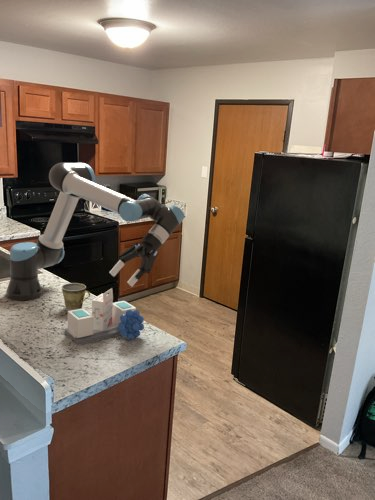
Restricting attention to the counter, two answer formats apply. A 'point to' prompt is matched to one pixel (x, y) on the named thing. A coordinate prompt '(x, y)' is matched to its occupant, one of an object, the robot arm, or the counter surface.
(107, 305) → the ink cartridge box
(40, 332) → the counter surface
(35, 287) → the robot arm
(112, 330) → the rail board
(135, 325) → the blue thick lobed disc
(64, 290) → the ceramic cup
